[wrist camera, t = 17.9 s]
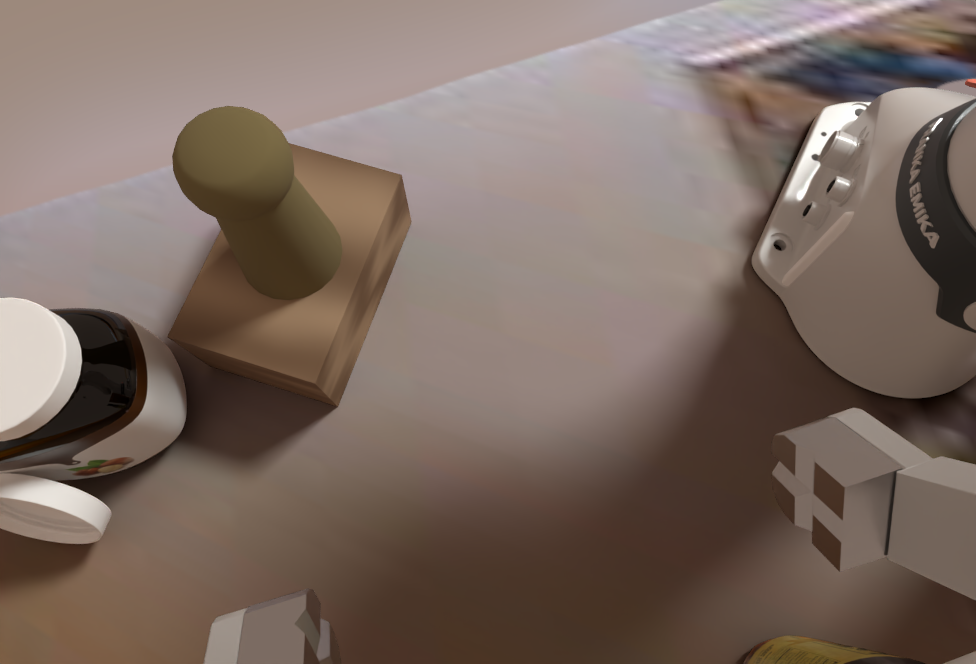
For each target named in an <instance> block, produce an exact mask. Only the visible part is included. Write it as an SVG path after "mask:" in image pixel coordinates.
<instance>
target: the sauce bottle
mask: <svg viewBox="0 0 976 664" xmlns="http://www.w3.org/2000/svg"><path fill="white" fill-rule="evenodd" d="M743 664H925V663H922V662H919V661H916V660H912V659H908V658H903V657H898V656H894V655H888V654H885V653H879V652H875V651H871V650H867V649H861V648H856V647H851V646H845V645H841V644H836V643H832V642H827V641H822V640H817V639H812V638H807V637H802V636H782V637H778V638H774V639H770V640H767V641H765V642H762V643H760V644H758V645H756V646H755V647H754V648H753V649H752V650H751V652H750V653H749V655H748V656H747V657H746V660H745V661H744V663H743Z"/></svg>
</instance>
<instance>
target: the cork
mask: <svg viewBox="0 0 976 664" xmlns="http://www.w3.org/2000/svg"><path fill="white" fill-rule="evenodd" d="M172 157H173V171H174V174H175V177H176V180H177V182H178V184H179V186H180V188H181V190H182V192H183V193H184V194H185V195H186V197H187V198H188V199H189V200H190V201H191V202H192V203H193V204H195V205H196V206H197V207H198V208H199V209H200V210H202V211H204V212H205V213H207V214H209V215H212V216H214V217H216V219H217V221H218V223H219V225H220V227H221V229H222V231H223V233H224V235H225V237H226V239H227V241H228V243H229V245H230V247H231V249H232V251H233V253H234V255H235V258H236V260H237V262H238V264H239V266H240V268H241V270H242V272H243V274H244V276H245V278H246V280H247V282H248V283H249V284H250V285H251V286H252V287H253V288H254V289H255V290H257V291H258V292H259V293H261V294H263V295H266V296H268V297H270V298H273V299H281V300H293V299H299V298H304V297H307V296H309V295H311V294H313V293H315V292H317V291H319V290H320V289H322V288H323V287H324V286H325V285H326V284H327V283H328V282H329V281H330V280H331V279H332V278H333V276H334V274H335V273H336V271H337V269H338V267H339V266H340V261H341V256H342V251H343V250H342V244H341V238H340V235H339V233H338V232H337V230H336V228H335V226H334V225H333V223H332V222H331V221H330V220H329V218H328V217H327V216H326V214H325V213H324V212H323V211H322V209H321V208H320V207H319V206H318V204H317V203H316V202H315V201H314V199H313V198H312V197H311V196H310V194H309V193H308V192H307V190H306V189H305V188H304V187H303V185H302V184H301V183H300V182H299V180H298V179H297V178H296V177H295V175H294V162H293V155H292V150H291V148H290V146H289V143H288V142H287V140H286V138H285V136H284V134H283V133H282V131H281V130H280V129H279V128H278V127H277V126H276V125H275V124H274V123H273V122H272V121H270V120H269V119H268V118H267V117H266V116H264V115H262V114H260V113H257V112H255V111H252V110H250V109H246V108H244V107H233V106H225V107H219V108H213V109H211V110H209V111H206V112H204V113H202V114H199V115H198V116H197V117H195V118H194V119H193V120H192V121H190V122H189V123H188V124H186V126H185V127H184V129H183V130H182V131H181V133H180V134H179V136H178V138H177V142H176V145H175V148H174V152H173V156H172Z"/></svg>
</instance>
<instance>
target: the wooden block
mask: <svg viewBox="0 0 976 664" xmlns="http://www.w3.org/2000/svg"><path fill="white" fill-rule="evenodd" d="M289 146H290V148H291V150H292V155H293V162H294V175H295V177H296V178H297V179H298V180H299V182H300V183H301V184H302V185H303V187H304V188H305V189H306V190H307V192H308V193H309V194H310V196H311V197H312V198H313V199H314V201H315V202H316V203H317V204H318V206H319V207H320V208H321V209H322V211H323V212H324V213H325V214H326V216H327V217H328V218H329V220H330V221H331V222H332V223H333V225H334V226H335V228H336V230H337V232H338V233H339V235H340V238H341V244H342V250H343V251H342V256H341V261H340V266H339V267H338V269H337V271H336V273H335V274H334V276H333V278H332V279H331V280H330V281H329V282H328V283H327V284H326V285H325V286H324V287H323V288H322V289H320V290H319V291H317V292H315V293H313V294H311V295H309V296H307V297H304V298H299V299H293V300H281V299H273V298H270V297H268V296H266V295H263V294H261V293H259V292H258V291H257V290H255V289H254V288H253V287H252V286H251V285H250V284H249V283H248V282H247V280H246V278H245V276H244V274H243V272H242V270H241V268H240V266H239V264H238V262H237V260H236V258H235V255H234V253H233V251H232V249H231V247H230V245H229V243H228V241H227V239H226V237H225V235H224V233H223V231H222V229H221V231H220V233H219V235H218V237H217V239H216V241H215V243H214V245H213V247H212V249H211V251H210V253H209V255H208V257H207V259H206V261H205V263H204V265H203V267H202V269H201V271H200V273H199V275H198V277H197V279H196V281H195V283H194V285H193V287H192V289H191V291H190V293H189V295H188V297H187V299H186V301H185V303H184V305H183V307H182V309H181V311H180V313H179V314H178V316H177V318H176V320H175V322H174V324H173V326H172V328H171V330H170V332H169V334H168V336H167V337H168V338H170V339H171V340H173V341H174V342H176V343H177V344H178V345H180V346H181V347H183V348H184V349H186V350H187V351H189V352H190V353H192V354H193V355H194V356H196V357H197V358H199V359H200V360H202V361H203V362H205V363H206V364H208V365H209V366H212V367H215V368H218V369H221V370H224V371H227V372H230V373H234V374H237V375H240V376H243V377H246V378H249V379H252V380H255V381H259V382H262V383H265V384H268V385H271V386H274V387H277V388H281V389H284V390H287V391H290V392H293V393H296V394H299V395H302V396H306V397H309V398H312V399H315V400H318V401H321V402H324V403H328V404H331V405H334V406H337V407H338V405H339V403H340V400H341V398H342V395H343V393H344V390H345V388H346V385H347V383H348V380H349V378H350V375H351V373H352V370H353V367H354V365H355V362H356V360H357V357H358V355H359V352H360V350H361V347H362V345H363V342H364V340H365V337H366V335H367V332H368V330H369V327H370V325H371V322H372V320H373V317H374V315H375V312H376V310H377V307H378V305H379V302H380V300H381V297H382V295H383V292H384V290H385V287H386V285H387V282H388V280H389V277H390V275H391V272H392V270H393V267H394V265H395V262H396V259H397V257H398V254H399V252H400V249H401V247H402V244H403V242H404V239H405V237H406V234H407V232H408V229H409V227H410V224H411V217H410V213H409V208H408V203H407V198H406V194H405V189H404V184H403V179H402V175H400V174H396V173H393V172H389V171H386V170H382V169H378V168H375V167H371V166H368V165H364V164H361V163H357V162H354V161H350V160H347V159H343V158H339V157H336V156H332V155H329V154H325V153H322V152H318V151H315V150H311V149H308V148H304V147H301V146H297V145H293V144H290V143H289Z"/></svg>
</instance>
